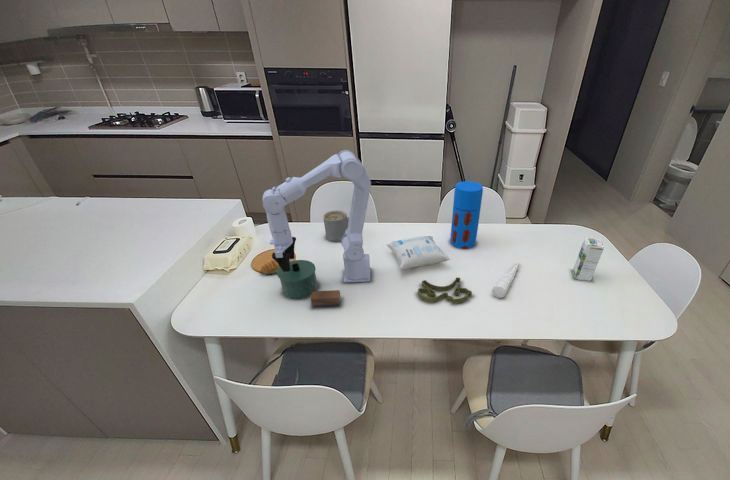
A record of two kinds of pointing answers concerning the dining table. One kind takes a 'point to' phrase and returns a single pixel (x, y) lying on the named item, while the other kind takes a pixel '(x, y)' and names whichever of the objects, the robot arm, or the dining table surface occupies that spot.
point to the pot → (300, 287)
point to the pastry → (270, 267)
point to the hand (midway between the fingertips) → (288, 264)
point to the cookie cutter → (431, 293)
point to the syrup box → (588, 259)
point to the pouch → (417, 252)
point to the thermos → (466, 214)
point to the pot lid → (297, 271)
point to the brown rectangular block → (325, 298)
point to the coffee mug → (335, 225)
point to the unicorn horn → (504, 283)
